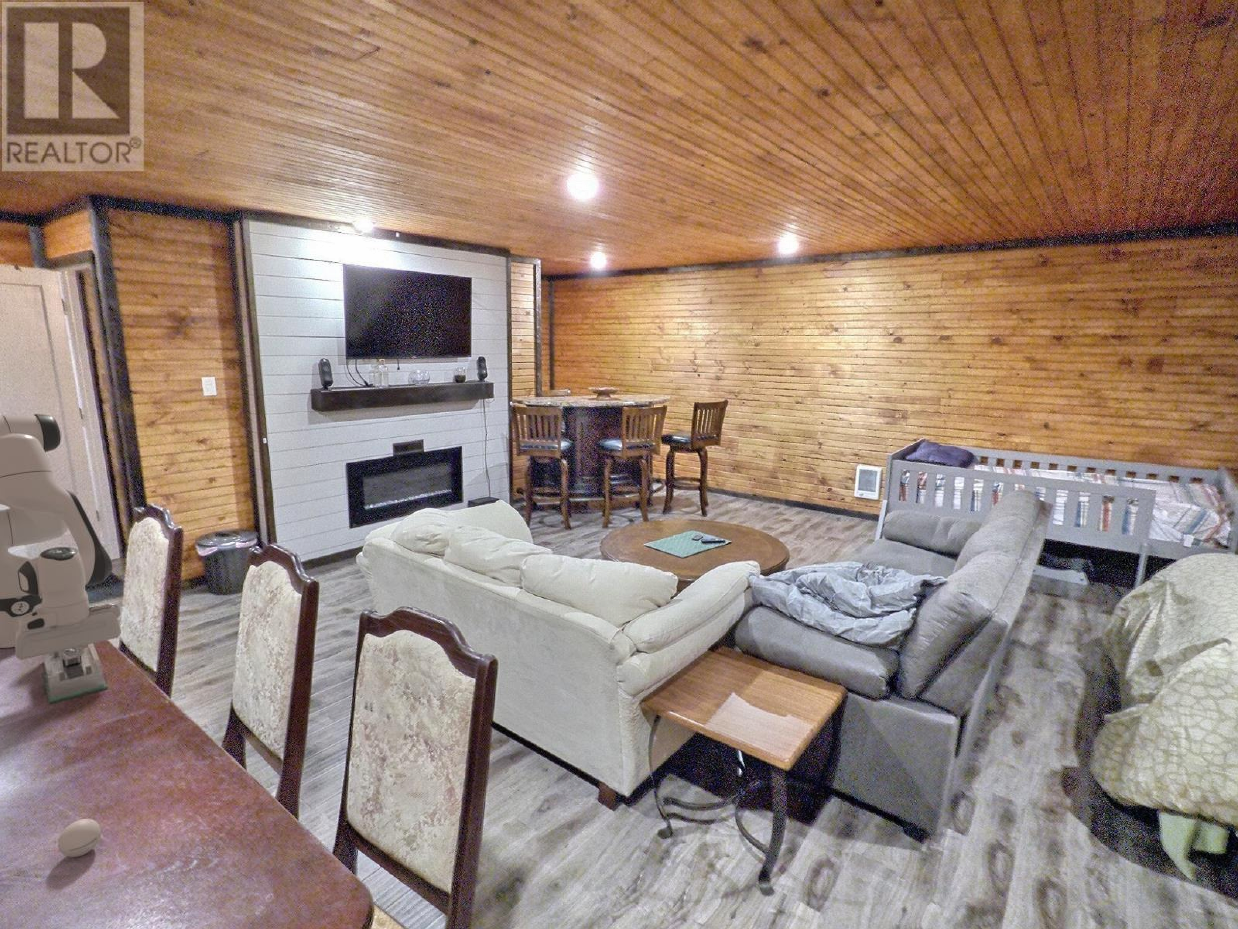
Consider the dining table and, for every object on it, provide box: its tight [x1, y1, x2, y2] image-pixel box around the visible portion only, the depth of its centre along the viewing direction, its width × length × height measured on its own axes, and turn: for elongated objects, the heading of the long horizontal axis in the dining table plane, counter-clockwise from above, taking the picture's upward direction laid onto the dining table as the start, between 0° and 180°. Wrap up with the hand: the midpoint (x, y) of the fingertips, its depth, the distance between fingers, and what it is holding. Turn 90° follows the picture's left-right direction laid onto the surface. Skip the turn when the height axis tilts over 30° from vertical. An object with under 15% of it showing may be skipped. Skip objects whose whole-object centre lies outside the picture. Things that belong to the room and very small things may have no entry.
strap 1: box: [65, 647, 77, 657], centre depth 165 cm, size 8×3×1 cm, turn 45°
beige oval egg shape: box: [57, 818, 117, 858], centre depth 107 cm, size 8×6×6 cm
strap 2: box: [65, 662, 84, 678], centre depth 159 cm, size 8×3×1 cm, turn 45°
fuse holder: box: [42, 643, 108, 705], centre depth 162 cm, size 21×11×7 cm, turn 45°
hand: (72, 663), depth 160 cm, fingers closed, pressing on strap 2
